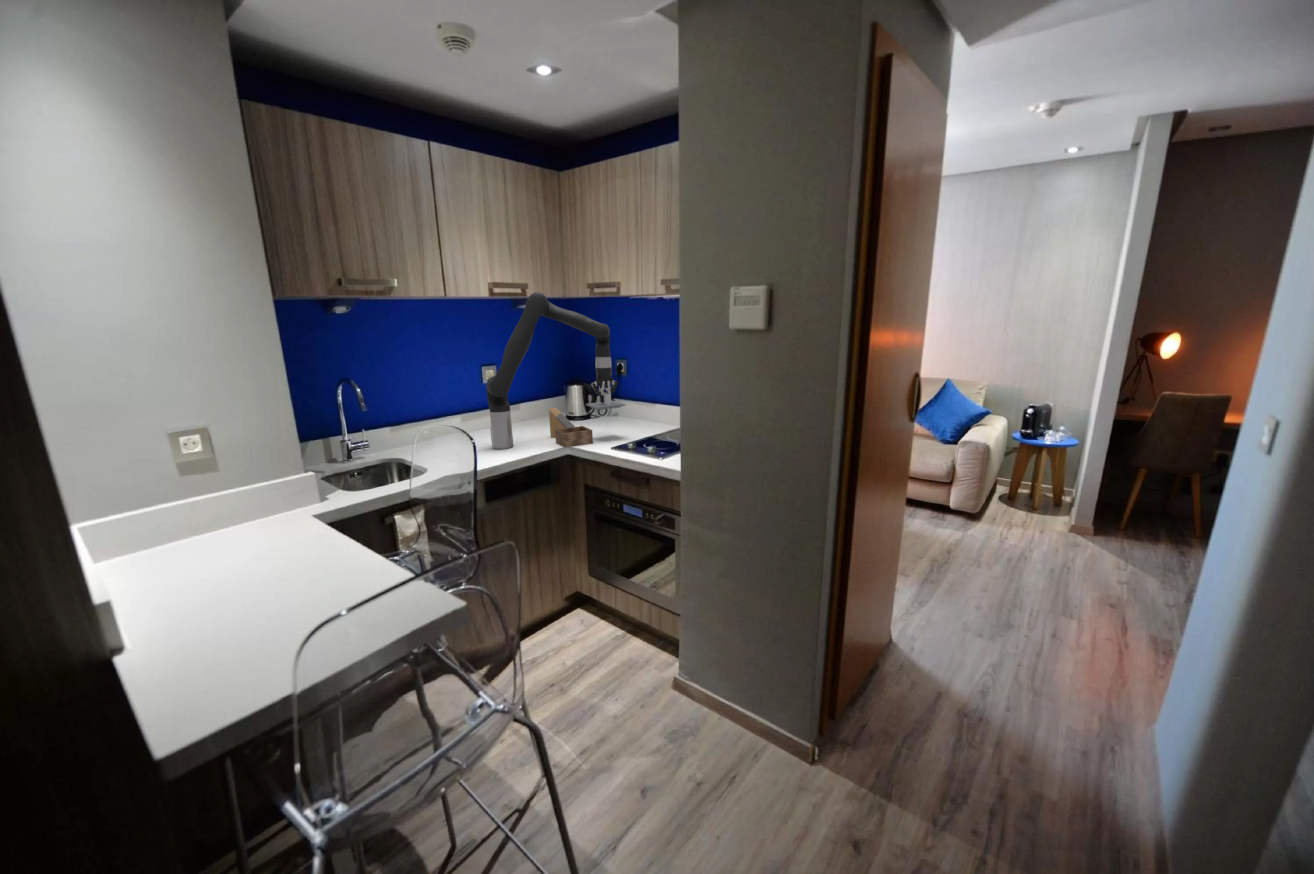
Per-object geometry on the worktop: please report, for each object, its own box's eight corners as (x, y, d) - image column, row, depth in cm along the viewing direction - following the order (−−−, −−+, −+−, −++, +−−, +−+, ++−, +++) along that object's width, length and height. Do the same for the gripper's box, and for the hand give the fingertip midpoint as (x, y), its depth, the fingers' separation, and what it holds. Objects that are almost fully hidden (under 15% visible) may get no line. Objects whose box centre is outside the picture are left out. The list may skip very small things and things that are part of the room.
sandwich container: (579, 439, 259) (578, 409, 255) (550, 439, 262) (548, 409, 258) (585, 436, 267) (583, 406, 264) (557, 435, 270) (555, 406, 267)
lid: (596, 410, 244) (595, 396, 243) (586, 407, 255) (585, 393, 254) (625, 407, 251) (625, 393, 250) (614, 404, 262) (613, 390, 261)
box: (564, 448, 240) (563, 433, 239) (556, 443, 250) (555, 429, 249) (593, 444, 247) (592, 430, 245) (583, 439, 257) (582, 426, 255)
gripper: (593, 368, 242) (595, 405, 246) (620, 366, 249) (621, 402, 253) (587, 367, 249) (589, 403, 253) (613, 365, 255) (615, 400, 259)
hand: (605, 402), depth 253 cm, fingers closed on lid, 2 cm apart
